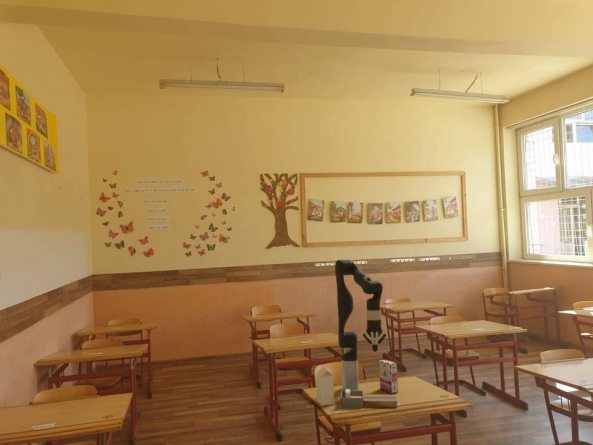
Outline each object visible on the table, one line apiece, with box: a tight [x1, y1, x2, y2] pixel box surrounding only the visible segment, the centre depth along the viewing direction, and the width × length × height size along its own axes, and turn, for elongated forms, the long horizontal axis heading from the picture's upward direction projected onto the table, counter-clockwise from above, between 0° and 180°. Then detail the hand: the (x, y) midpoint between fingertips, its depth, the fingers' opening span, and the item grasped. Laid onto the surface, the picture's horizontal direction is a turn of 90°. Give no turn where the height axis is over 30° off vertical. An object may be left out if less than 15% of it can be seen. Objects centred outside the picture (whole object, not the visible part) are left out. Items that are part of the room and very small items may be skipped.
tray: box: [339, 389, 364, 409], centre depth 244 cm, size 13×12×5 cm
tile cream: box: [346, 389, 350, 398], centre depth 243 cm, size 6×6×2 cm
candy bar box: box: [378, 359, 399, 395], centre depth 264 cm, size 11×5×16 cm, turn 25°
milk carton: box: [316, 365, 335, 407], centre depth 245 cm, size 7×7×19 cm
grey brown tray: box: [363, 393, 398, 408], centre depth 242 cm, size 11×17×3 cm, turn 83°
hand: (375, 351), depth 243 cm, fingers closed
